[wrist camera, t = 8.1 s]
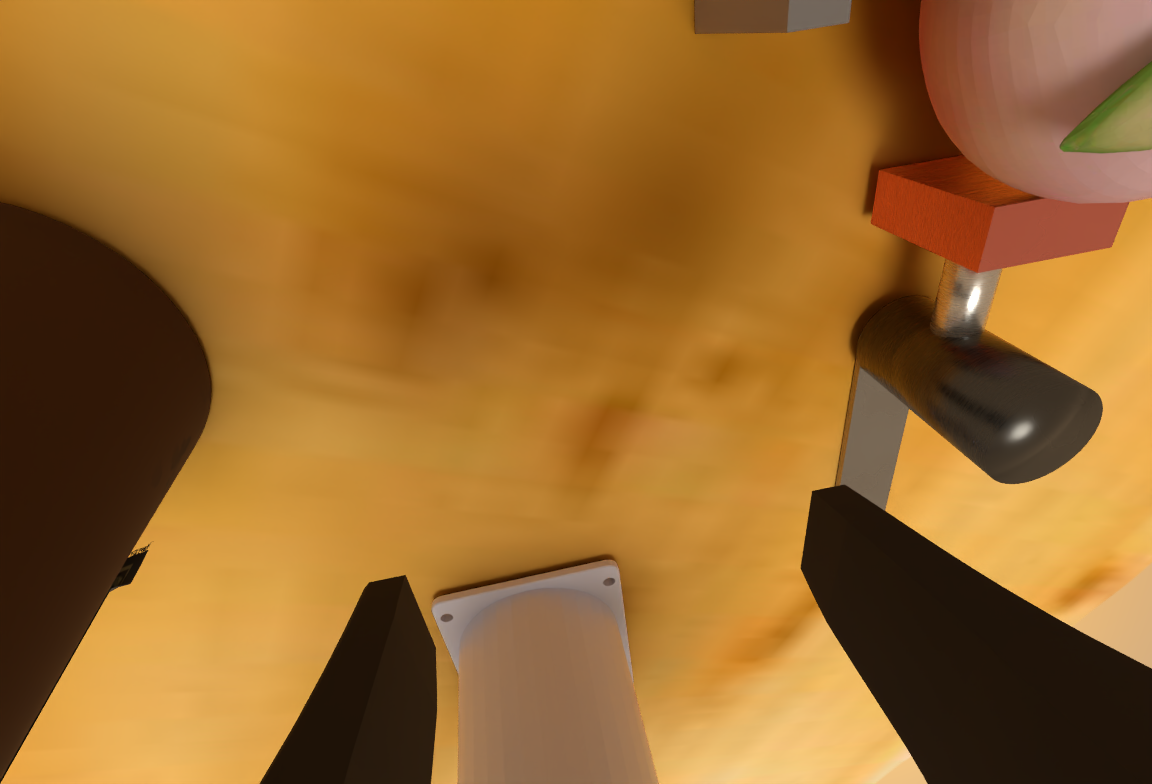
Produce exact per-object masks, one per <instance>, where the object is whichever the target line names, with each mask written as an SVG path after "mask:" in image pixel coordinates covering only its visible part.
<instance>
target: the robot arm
mask: <svg viewBox="0 0 1152 784" xmlns="http://www.w3.org/2000/svg"><path fill="white" fill-rule="evenodd" d="M801 570H802V572H803V574H804V577H805V579H806V581H807V583H808V585H809V587H810V589H811V591H812V594H813V596H814V598H815V600H816V602H817V604H818V606H819V608H820V610H821V612H822V614H823V616H824V618H825V620H826V622H827V623H828V625H829V627H830V628H831V630H832V631H833V633H834V635H835V636H836V638H837V639H838V641H839V643H840V644H841V646H842V647H843V649H844V651H845V652H846V654H847V655H848V657H849V658H850V660H851V662H852V663H853V665H854V666H855V668H856V669H857V671H858V673H859V674H860V676H861V677H862V679H863V680H864V682H865V683H866V685H867V687H868V688H869V690H870V691H871V693H872V694H873V696H874V697H875V699H876V701H877V702H878V704H879V705H880V707H881V708H882V710H883V711H884V713H885V715H886V716H887V718H888V719H889V721H890V722H891V724H892V725H893V727H894V729H895V730H896V732H897V733H898V735H899V736H900V738H901V740H902V741H903V743H904V744H905V746H906V747H907V749H908V751H909V752H910V754H911V756H912V757H913V759H914V761H915V762H916V764H917V766H918V768H919V769H920V771H921V772H922V774H923V776H924V778H925V780H926V782H927V783H928V784H1152V669H1151V668H1149V667H1147V666H1145V665H1144V664H1142V663H1140V662H1137V661H1136V660H1134V659H1132V658H1130V657H1128V656H1126V655H1124V654H1122V653H1120V652H1118V651H1116V650H1115V649H1113V648H1110V647H1109V646H1107V645H1105V644H1103V643H1101V642H1099V641H1097V640H1095V639H1093V638H1091V637H1089V636H1088V635H1086V634H1084V633H1082V632H1080V631H1078V630H1077V629H1075V628H1073V627H1071V626H1069V625H1068V624H1066V623H1064V622H1062V621H1060V620H1059V619H1057V618H1055V617H1053V616H1052V615H1050V614H1048V613H1046V612H1045V611H1043V610H1041V609H1040V608H1038V607H1036V606H1034V605H1033V604H1031V603H1029V602H1027V601H1026V600H1024V599H1022V598H1021V597H1019V596H1017V595H1015V594H1014V593H1012V592H1010V591H1009V590H1007V589H1005V588H1004V587H1002V586H1000V585H999V584H997V583H995V582H994V581H992V580H991V579H989V578H987V577H986V576H984V575H982V574H981V573H979V572H978V571H976V570H974V569H973V568H971V567H970V566H968V565H966V564H965V563H963V562H962V561H960V560H959V559H957V558H955V557H954V556H952V555H951V554H949V553H948V552H946V551H945V550H943V549H942V548H940V547H938V546H937V545H935V544H934V543H932V542H931V541H929V540H928V539H926V538H925V537H923V536H922V535H920V534H919V533H917V532H916V531H914V530H913V529H911V528H910V527H908V526H907V525H905V524H904V523H902V522H901V521H899V520H898V519H896V518H895V517H893V516H892V515H890V514H889V513H887V512H886V511H884V510H883V509H881V508H880V507H878V506H877V505H875V504H874V503H872V502H871V501H869V500H868V499H866V498H865V497H863V496H862V495H860V494H859V493H857V492H856V491H854V490H853V489H851V488H850V487H848V486H846V485H845V484H844V485H840V486H835V487H830V488H825V489H820V490H815V491H812V496H811V503H810V509H809V516H808V523H807V529H806V536H805V543H804V549H803V556H802V563H801ZM607 578H608V579H607ZM432 614H433V616H434V618H435V621H436V623H437V625H438V628H439V630H440V632H441V635H442V637H443V639H444V642H445V644H446V647H447V649H448V651H449V654H450V656H451V658H452V661H453V663H454V665H455V668H456V670H457V672H458V675H459V699H458V784H659V782H658V779H657V775H656V771H655V767H654V763H653V759H652V755H651V751H650V748H649V744H648V740H647V736H646V732H645V728H644V724H643V720H642V717H641V713H640V709H639V705H638V701H637V697H636V693H635V689H634V686H633V682H634V681H633V673H632V665H631V658H630V650H629V642H628V634H627V627H626V619H625V611H624V604H623V596H622V588H621V581H620V573H619V568H618V565H617V563H616V562H615V561H613V560H602V561H598V562H593V563H589V564H584V565H579V566H575V567H570V568H566V569H561V570H557V571H552V572H548V573H543V574H538V575H534V576H529V577H525V578H520V579H516V580H511V581H507V582H502V583H497V584H493V585H488V586H484V587H479V588H475V589H470V590H466V591H461V592H456V593H452V594H447V595H443V596H439V597H437V598H436V599H434V600H433V602H432ZM436 716H437V676H436V647H435V645H434V642H433V640H432V637H431V635H430V633H429V630H428V628H427V625H426V623H425V621H424V618H423V616H422V613H421V611H420V609H419V606H418V604H417V602H416V599H415V597H414V594H413V592H412V590H411V587H410V585H409V582H408V580H407V578H406V575H403V576H399V577H394V578H389V579H384V580H379V581H374V582H369V583H368V585H367V586H366V587H365V588H364V590H363V592H362V595H361V597H360V599H359V601H358V603H357V605H356V607H355V609H354V611H353V613H352V615H351V618H350V620H349V622H348V624H347V626H346V628H345V630H344V632H343V634H342V636H341V638H340V640H339V642H338V644H337V646H336V648H335V650H334V652H333V654H332V656H331V658H330V660H329V661H328V663H327V665H326V667H325V669H324V671H323V673H322V675H321V677H320V679H319V680H318V682H317V684H316V686H315V688H314V690H313V692H312V693H311V695H310V697H309V699H308V701H307V703H306V704H305V706H304V708H303V710H302V712H301V714H300V716H299V717H298V719H297V721H296V723H295V725H294V726H293V728H292V730H291V732H290V733H289V735H288V737H287V738H286V740H285V742H284V743H283V745H282V747H281V749H280V750H279V752H278V754H277V755H276V757H275V759H274V760H273V762H272V764H271V765H270V767H269V769H268V770H267V772H266V774H265V775H264V777H263V779H262V781H261V782H260V784H431V776H432V765H433V753H434V741H435V729H436Z"/></svg>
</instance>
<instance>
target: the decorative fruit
mask: <svg viewBox="0 0 1152 784" xmlns="http://www.w3.org/2000/svg"><path fill="white" fill-rule="evenodd" d="M919 46H920V56H921V63H922V69H923V74H924V79H925V84H926V88H927V91H928V94H929V98H930V101H931V104H932V106H933V109H934V111H935V114H936V116H937V118H938V121H939V122H940V124H941V126H942V127H943V129H944V130H945V132H946V133H947V135H948V136H949V138H950V139H951V141H952V142H953V143H954V144H955V145H956V147H957V148H958V149H959V150H960V151H961V152H962V154H963V155H964V156H965V157H966V158H967V159H968V160H969V161H971V162H972V163H973V164H974V165H976V166H977V167H978V168H980V169H981V170H982V171H983V172H985V173H986V174H988V175H989V176H991V177H993V178H995V179H996V180H998V181H1000V182H1002V183H1004V184H1006V185H1008V186H1010V187H1013V188H1015V189H1018V190H1021V191H1023V192H1026V193H1029V194H1033V195H1036V196H1040V197H1044V198H1049V199H1054V200H1059V201H1065V202H1072V203H1078V204H1084V203H1125V202H1130V201H1136V200H1142V199H1147V198H1152V0H921V8H920V18H919Z"/></svg>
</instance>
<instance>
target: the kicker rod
mask: <svg viewBox="0 0 1152 784" xmlns="http://www.w3.org/2000/svg"><path fill="white" fill-rule="evenodd" d="M1128 204H1129V202H1125V203H1084V204H1078V203H1072V202H1065V201H1059V200H1054V199H1049V198H1044V197H1040V196H1036V195H1033V194H1029V193H1026V192H1023V191H1021V190H1018V189H1015V188H1013V187H1010V186H1008V185H1006V184H1004V183H1002V182H1000V181H998V180H996V179H995V178H993V177H991V176H989V175H988V174H986V173H985V172H983V171H982V170H981V169H980V168H978V167H977V166H976V165H974V164H973V163H972V162H971V161H969V160H968V159H967V158H966V157H965V156H964V155H961V156H955V157H950V158H944V159H938V160H933V161H927V162H922V163H916V164H910V165H905V166H899V167H893V168H888V169H882V170H879V174H878V181H877V187H876V194H875V200H874V206H873V213H872V219H871V224H872V225H875V226H877V227H879V228H881V229H883V230H885V231H888V232H890V233H892V234H894V235H896V236H898V237H900V238H903V239H905V240H907V241H909V242H911V243H913V244H916V245H918V246H920V247H922V248H924V249H926V250H929V251H931V252H933V253H935V254H937V255H939V256H942V257H944V258H946V259H945V263H944V268H943V272H942V276H941V280H940V285H939V289H938V293H937V297H936V301H934V300H932V299H930V298H928V297H925V296H907V297H903V298H900V299H898V300H895V301H893V302H891V303H890V304H888V305H886V306H885V307H883V308H882V309H881V310H879V311H878V312H877V313H876V314H875V315H874V316H873V317H872V318H871V319H870V320H869V322H868V323H867V324H866V326H865V327H864V329H863V331H862V333H861V335H860V337H859V340H858V344H857V351H856V353H857V360H858V363H859V365H860V366H861V368H862V369H863V370H864V371H865V372H866V373H868V374H869V375H870V376H871V377H872V378H873V379H875V380H876V381H877V382H878V383H879V384H881V385H882V386H883V387H884V388H885V389H887V390H888V391H889V392H890V393H891V394H893V395H894V396H895V397H896V398H897V399H898V400H900V401H901V402H902V403H903V404H904V405H906V406H907V407H908V408H909V409H910V410H912V411H913V412H914V413H915V414H916V415H918V416H919V417H920V418H921V419H922V420H923V421H925V422H926V423H927V424H928V425H929V426H931V427H932V428H933V429H934V430H935V431H937V432H938V433H939V434H940V435H941V436H943V437H944V438H945V439H946V440H947V441H948V442H950V443H951V444H952V445H953V446H954V447H956V448H957V449H958V450H959V451H960V452H962V453H963V454H964V455H965V456H966V457H968V458H969V459H970V460H971V461H972V462H974V463H975V464H976V465H977V466H978V467H979V468H981V469H982V470H983V471H984V472H985V473H987V474H988V475H989V476H990V477H991V478H993V479H994V480H996V481H998V482H1000V483H1005V484H1019V483H1025V482H1029V481H1032V480H1035V479H1038V478H1040V477H1043V476H1045V475H1047V474H1049V473H1051V472H1053V471H1055V470H1056V469H1058V468H1059V467H1061V466H1062V465H1064V464H1065V463H1067V462H1068V461H1069V460H1070V459H1072V458H1073V457H1074V456H1075V455H1076V454H1077V453H1078V452H1079V451H1080V450H1081V449H1082V448H1083V447H1084V446H1085V445H1086V444H1087V443H1088V441H1089V440H1090V439H1091V437H1092V436H1093V434H1094V433H1095V431H1096V429H1097V427H1098V425H1099V423H1100V420H1101V417H1102V411H1103V406H1102V401H1101V398H1100V397H1099V395H1098V394H1097V393H1096V392H1095V391H1093V390H1092V389H1090V388H1088V387H1086V386H1084V385H1083V384H1081V383H1079V382H1077V381H1076V380H1074V379H1072V378H1070V377H1068V376H1067V375H1065V374H1063V373H1061V372H1060V371H1058V370H1056V369H1054V368H1053V367H1051V366H1049V365H1047V364H1045V363H1044V362H1042V361H1040V360H1038V359H1037V358H1035V357H1033V356H1031V355H1030V354H1028V353H1026V352H1024V351H1022V350H1021V349H1019V348H1017V347H1015V346H1014V345H1012V344H1010V343H1008V342H1006V341H1005V340H1003V339H1001V338H999V337H998V336H996V335H994V334H992V333H991V332H989V331H987V330H985V326H986V322H987V319H988V316H989V312H990V309H991V305H992V302H993V299H994V295H995V292H996V288H997V285H998V282H999V278H1000V275H1001V272H1002V268H1006V267H1012V266H1017V265H1022V264H1027V263H1032V262H1037V261H1043V260H1048V259H1053V258H1058V257H1063V256H1069V255H1074V254H1079V253H1084V252H1089V251H1094V250H1100V249H1105V248H1110V247H1112V245H1113V242H1114V240H1115V237H1116V235H1117V232H1118V230H1119V227H1120V224H1121V222H1122V219H1123V217H1124V214H1125V212H1126V209H1127V207H1128Z"/></svg>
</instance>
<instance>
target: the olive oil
mask: <svg viewBox="0 0 1152 784" xmlns="http://www.w3.org/2000/svg"><path fill="white" fill-rule="evenodd" d="M210 401H211V385H210V377H209V371H208V367H207V364H206V360H205V357H204V354H203V352H202V349H201V347H200V345H199V343H198V341H197V339H196V337H195V335H194V333H193V331H192V330H191V328H190V326H189V325H188V323H187V322H186V320H185V319H184V317H183V316H182V314H181V313H180V312H179V310H178V309H177V308H176V307H175V305H174V304H173V303H172V302H171V301H170V299H169V298H168V297H167V296H166V295H165V294H164V293H163V292H162V291H161V290H160V289H159V288H158V287H157V286H156V285H155V284H154V283H153V282H152V281H151V280H150V279H149V278H148V277H147V276H145V275H144V274H143V273H142V272H141V271H140V270H138V269H137V268H136V267H135V266H133V265H132V264H131V263H129V262H128V261H127V260H125V259H124V258H123V257H121V256H120V255H118V254H117V253H116V252H114V251H113V250H111V249H109V248H108V247H106V246H105V245H103V244H101V243H100V242H98V241H96V240H95V239H93V238H91V237H89V236H87V235H86V234H84V233H82V232H80V231H78V230H76V229H74V228H72V227H70V226H67V225H65V224H63V223H61V222H58V221H56V220H54V219H51V218H49V217H46V216H43V215H41V214H38V213H35V212H32V211H29V210H26V209H23V208H19V207H16V206H12V205H9V204H5V203H0V783H1V781H2V780H3V778H4V776H5V774H6V772H7V771H8V769H9V767H10V765H11V764H12V762H13V760H14V758H15V757H16V755H17V753H18V751H19V750H20V748H21V746H22V744H23V742H24V741H25V739H26V737H27V735H28V734H29V732H30V730H31V728H32V727H33V725H34V723H35V721H36V720H37V718H38V716H39V714H40V713H41V711H42V709H43V707H44V706H45V704H46V702H47V700H48V699H49V697H50V695H51V693H52V692H53V690H54V688H55V686H56V685H57V683H58V681H59V679H60V677H61V676H62V674H63V672H64V670H65V669H66V667H67V665H68V663H69V662H70V660H71V658H72V656H73V655H74V653H75V651H76V649H77V648H78V646H79V644H80V642H81V641H82V639H83V637H84V635H85V634H86V632H87V630H88V628H89V627H90V625H91V623H92V621H93V620H94V618H95V616H96V614H97V612H98V611H99V609H100V607H101V605H102V604H103V602H104V600H105V598H106V597H107V595H108V593H109V592H111V591H112V590H114V589H116V588H118V587H121V586H124V585H128V584H131V582H132V580H133V578H134V577H135V575H136V573H137V571H138V569H139V567H140V566H141V564H142V562H143V560H144V558H145V555H146V553H147V552H148V550H145V549H147V548H146V547H149V545H150V544H149V545H148V546H146V547H145V548H144V547H143V548H144V549H142V548H140V550H141V549H142V550H143V551H145V552H143V551H142V550H141V552H142V553H141V554H140V553H139V552H138V553H139V554H137V555H136V553H135V552H134V553H135V554H134V553H133V552H131V551H132V550H133V548H134V546H135V545H136V543H137V541H138V540H139V538H140V536H141V535H142V533H143V531H144V530H145V528H146V526H147V525H148V523H149V521H150V520H151V518H152V516H153V515H154V513H155V511H156V510H157V508H158V507H159V505H160V503H161V502H162V500H163V498H164V497H165V495H166V493H167V492H168V490H169V488H170V487H171V485H172V483H173V482H174V480H175V478H176V477H177V475H178V473H179V472H180V470H181V468H182V467H183V465H184V464H185V462H186V460H187V459H188V457H189V455H190V454H191V452H192V450H193V448H194V447H195V445H196V443H197V441H198V440H199V438H200V436H201V434H202V432H203V429H204V427H205V424H206V421H207V417H208V414H209V409H210ZM152 542H153V541H152ZM135 551H136V550H135ZM137 551H138V549H137ZM137 551H136V552H137ZM130 553H132V554H134V555H133V556H132V554H131V557H129V558H128V556H129V555H130Z"/></svg>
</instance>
